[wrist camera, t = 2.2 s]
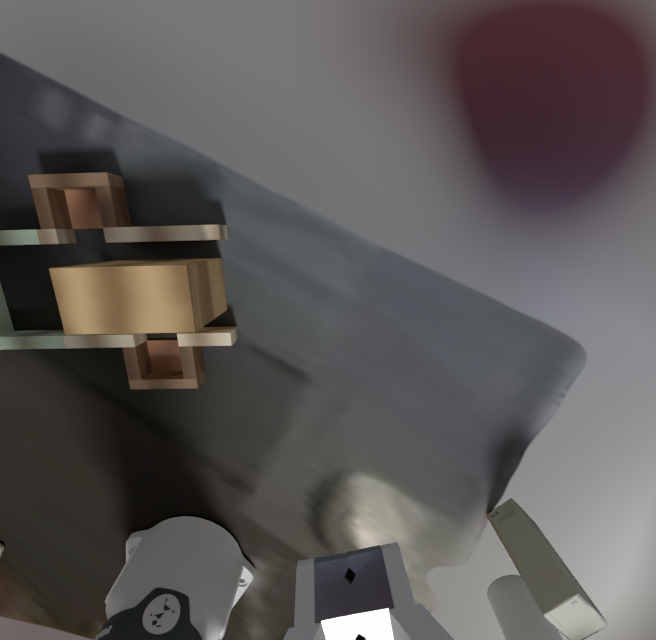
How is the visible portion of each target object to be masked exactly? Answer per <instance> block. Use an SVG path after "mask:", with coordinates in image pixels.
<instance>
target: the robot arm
mask: <svg viewBox="0 0 656 640" xmlns="http://www.w3.org/2000/svg"><path fill="white" fill-rule="evenodd" d="M254 575H255V569H254V567H253V566H252V565H251V564H250V563H249V562H248V561H247V560H246V559H245V558H244V556H243V555H242V553H241V550H240V548H239V545H238V544H237V542H236V540H235V539H234V538H233V537H232V535H231V534H230V533H228V532H227V531H226V530H225V529H224V528H222V527H221V526H219V525H217V524H215V523H213V522H211V521H208V520H206V519H202V518H198V517H190V516H181V517H174V518H170V519H167V520H164V521H162V522H160V523H158V524H157V525H155V526H154V527H152V528H150V529H148V530H143V531H138V532H134V533H132V534H131V535H130V536H129V538H128V540H127V541H126V564H125V566H124V567H123V569H122V571H121V573H120V574H119V576H118V578H117V579H116V581H115V583H114V585H113V586H112V588H111V590H110V592H109V593H108V595H107V597H106V600H105V603H106V615H107V621H106V623H105V624H104V626H103V627H102V629H101V631H100V632H99V634H98V635H97V636H96V638H95V639H94V640H221V639H222V638H223V636H224V634H225V631H226V627H227V626H226V625H227V622H228V619H229V615H230V612H231V610H232V608H233V607H234V605H235V604H236V603H237V601H238V600H239V598H240V597H241V596H242V594H243V593H244V591H245V590H246V589H247V587H248V586H249V584H250V583H251V582H252V580H253V578H254ZM283 640H454V639H453V638H452V637H451V636H450V635H449V634H448V633H447V632H446V630H445V629H444V628H443V627H442V626H441V625H440V624H439V623H438V622H437V621H436V620H435V618H434V617H433V616H432V615H431V614H430V613H429V612H428V611H427V610H426V609H425V608H424V607H423V606H422V604H415V602H414V598H413V594H412V591H411V587H410V584H409V580H408V577H407V573H406V570H405V566H404V562H403V559H402V555H401V552H400V548H399V545H398V544H397V542H396V543H391V544H386V545H381V547H380V545H378V546H373V547H369V548H364V549H359V550H354V551H349V552H348V553H342V554H336V555H330V556H324V557H317V558H311V559H306V560H300V561H298V564H297V570H296V595H295V619H294V627H293V628H289V629H288V631H287V633H286V635H285V637H284V639H283Z"/></svg>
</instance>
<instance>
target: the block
mask: <svg viewBox="0 0 656 640" xmlns="http://www.w3.org/2000/svg"><path fill="white" fill-rule="evenodd" d="M49 271H50V275H51V279H52V283H53V287H54V292H55V296H56V300H57V304H58V308H59V312H60V316H61V320H62V324H63V328H64V332H65V335H74V334H128V333H182V332H197V331H198V330H199V329H201V328H202V327H204V326H205V325H206V324H208V323H209V322H211V321H212V320H214V319H215V318H216V317H218V316H219V315H221V314H222V313H224V312H225V311H226V310H227V303H226V294H225V285H224V275H223V266H222V258H193V259H152V260H115V261H107V262H98V263H90V264H81V265H73V266H64V267H56V268H49Z"/></svg>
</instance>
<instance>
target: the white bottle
mask: <svg viewBox="0 0 656 640" xmlns="http://www.w3.org/2000/svg"><path fill="white" fill-rule="evenodd" d="M488 599H489V601H490V604H491V607H492V609H493V611H494V614H495V616H496V618H497V621H498V623H499V625H500V628H501V630H502V633H503V635H504V637H505V640H563V639H562V637H561V635H560V633H559V632H558V630H557V629H556V628H555V627H554V626H553V625H552V624H551V623H550V622H549V621H548V620H547V619H546V618H545V617H544V616H543V614H542V612H541V611H540V609H539V607H538V605H537V603H536V601H535V600H534V598H533V596H532V594H531V593H530V591H529V589H528V587H527V586H526V584H525V582H524V580H523V578H522V577H521V576H517V575H508V576H503V577H501V578H499V579H497V580H496V581H494V582H493V583H492V584H491V585H490V587H489V589H488Z"/></svg>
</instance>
